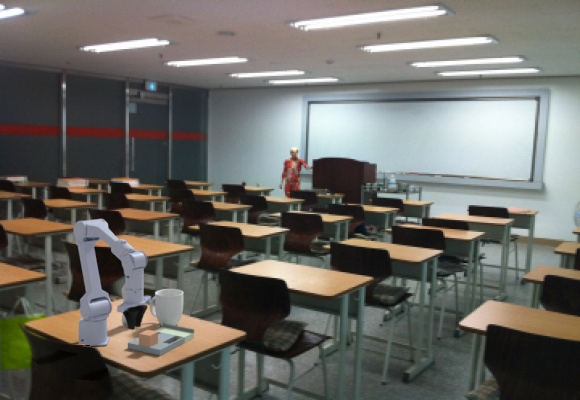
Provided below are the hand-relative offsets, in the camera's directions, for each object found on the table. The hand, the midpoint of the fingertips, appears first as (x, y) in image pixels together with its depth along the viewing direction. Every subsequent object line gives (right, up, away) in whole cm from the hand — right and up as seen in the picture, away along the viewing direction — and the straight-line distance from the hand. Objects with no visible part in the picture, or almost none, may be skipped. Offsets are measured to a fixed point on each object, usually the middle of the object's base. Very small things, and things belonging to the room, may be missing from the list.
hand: (134, 327), depth 179 cm
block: (+3, -7, +7) cm, 11 cm away
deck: (+6, -9, +14) cm, 18 cm away
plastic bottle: (-11, -7, +31) cm, 34 cm away
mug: (+3, -7, +35) cm, 36 cm away
